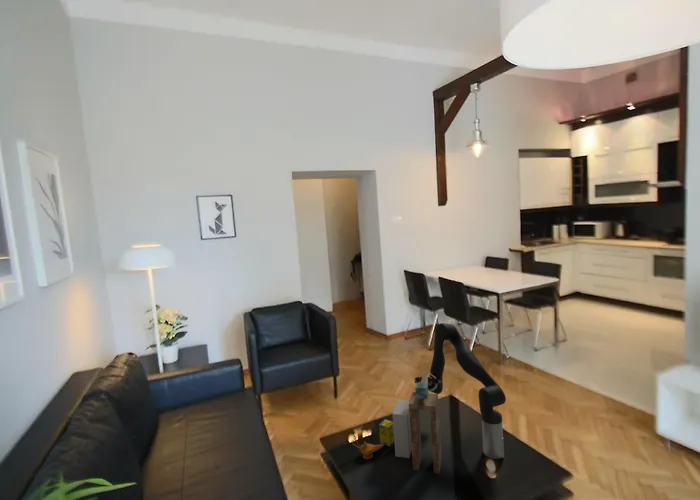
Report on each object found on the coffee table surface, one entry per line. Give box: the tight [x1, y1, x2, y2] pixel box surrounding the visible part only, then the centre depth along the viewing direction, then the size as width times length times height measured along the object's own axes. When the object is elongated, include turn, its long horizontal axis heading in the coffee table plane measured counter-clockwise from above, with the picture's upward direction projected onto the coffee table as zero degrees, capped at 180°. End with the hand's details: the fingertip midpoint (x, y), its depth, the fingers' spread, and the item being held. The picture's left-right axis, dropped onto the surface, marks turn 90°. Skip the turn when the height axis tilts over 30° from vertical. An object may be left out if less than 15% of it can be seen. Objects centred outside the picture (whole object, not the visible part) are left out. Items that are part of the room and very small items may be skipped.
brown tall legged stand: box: [409, 391, 442, 474], centre depth 176 cm, size 12×12×32 cm
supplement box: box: [378, 419, 395, 448], centre depth 196 cm, size 6×6×11 cm
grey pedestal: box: [392, 399, 412, 459], centre depth 190 cm, size 7×14×22 cm, turn 162°
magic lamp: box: [351, 434, 388, 460], centre depth 186 cm, size 7×18×11 cm, turn 83°
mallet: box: [414, 371, 431, 399], centre depth 180 cm, size 5×22×5 cm, turn 162°
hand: (424, 379), depth 183 cm, fingers closed on mallet, 3 cm apart
